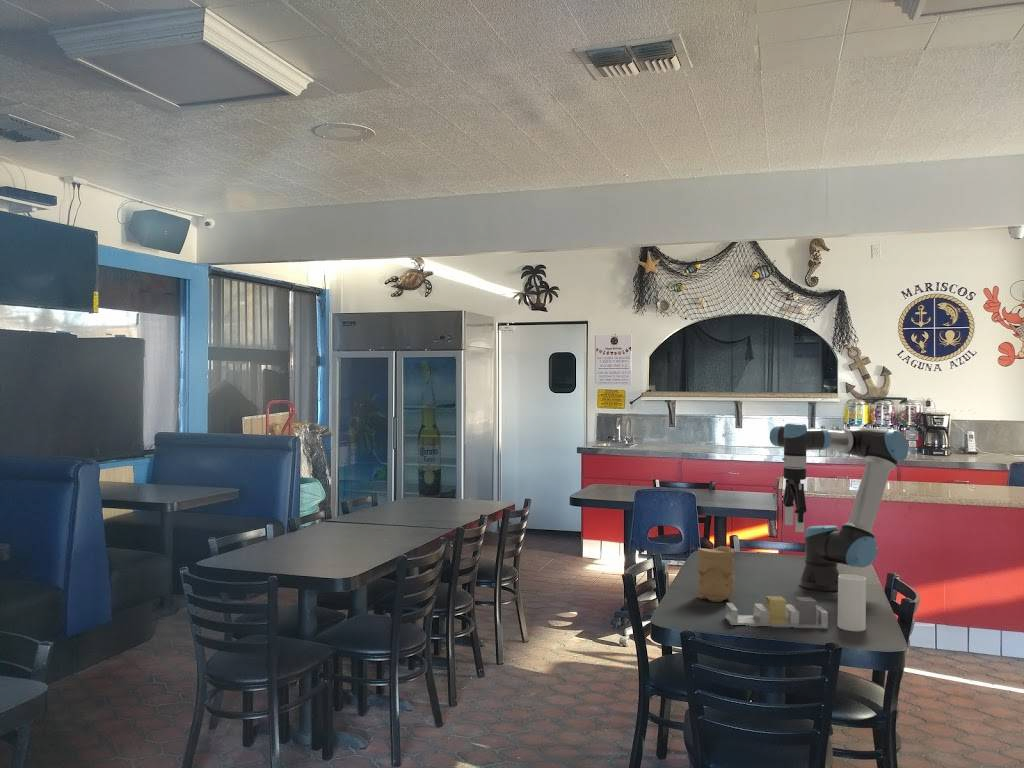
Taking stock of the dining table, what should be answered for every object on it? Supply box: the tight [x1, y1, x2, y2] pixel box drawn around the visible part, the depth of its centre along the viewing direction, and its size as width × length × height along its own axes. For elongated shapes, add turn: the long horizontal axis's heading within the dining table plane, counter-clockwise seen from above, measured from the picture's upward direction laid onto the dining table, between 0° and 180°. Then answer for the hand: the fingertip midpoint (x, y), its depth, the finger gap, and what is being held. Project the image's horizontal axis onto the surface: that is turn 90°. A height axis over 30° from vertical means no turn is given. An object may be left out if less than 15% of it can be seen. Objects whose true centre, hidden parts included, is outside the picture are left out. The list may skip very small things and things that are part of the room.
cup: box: [837, 573, 867, 632], centre depth 268 cm, size 8×8×16 cm
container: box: [697, 545, 735, 603], centre depth 301 cm, size 13×13×18 cm
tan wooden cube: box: [765, 595, 787, 622], centre depth 272 cm, size 5×5×7 cm
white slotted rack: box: [725, 596, 829, 630], centre depth 272 cm, size 30×9×8 cm, turn 87°
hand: (794, 528), depth 295 cm, fingers open, 13 cm apart
